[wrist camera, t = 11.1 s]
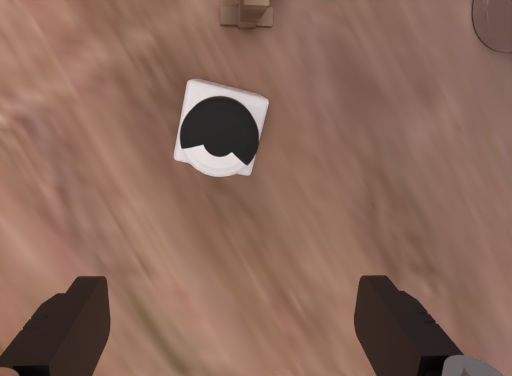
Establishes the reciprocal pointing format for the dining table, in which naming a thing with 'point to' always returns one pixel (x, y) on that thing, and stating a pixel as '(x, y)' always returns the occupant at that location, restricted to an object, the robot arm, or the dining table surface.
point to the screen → (247, 14)
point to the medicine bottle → (220, 128)
